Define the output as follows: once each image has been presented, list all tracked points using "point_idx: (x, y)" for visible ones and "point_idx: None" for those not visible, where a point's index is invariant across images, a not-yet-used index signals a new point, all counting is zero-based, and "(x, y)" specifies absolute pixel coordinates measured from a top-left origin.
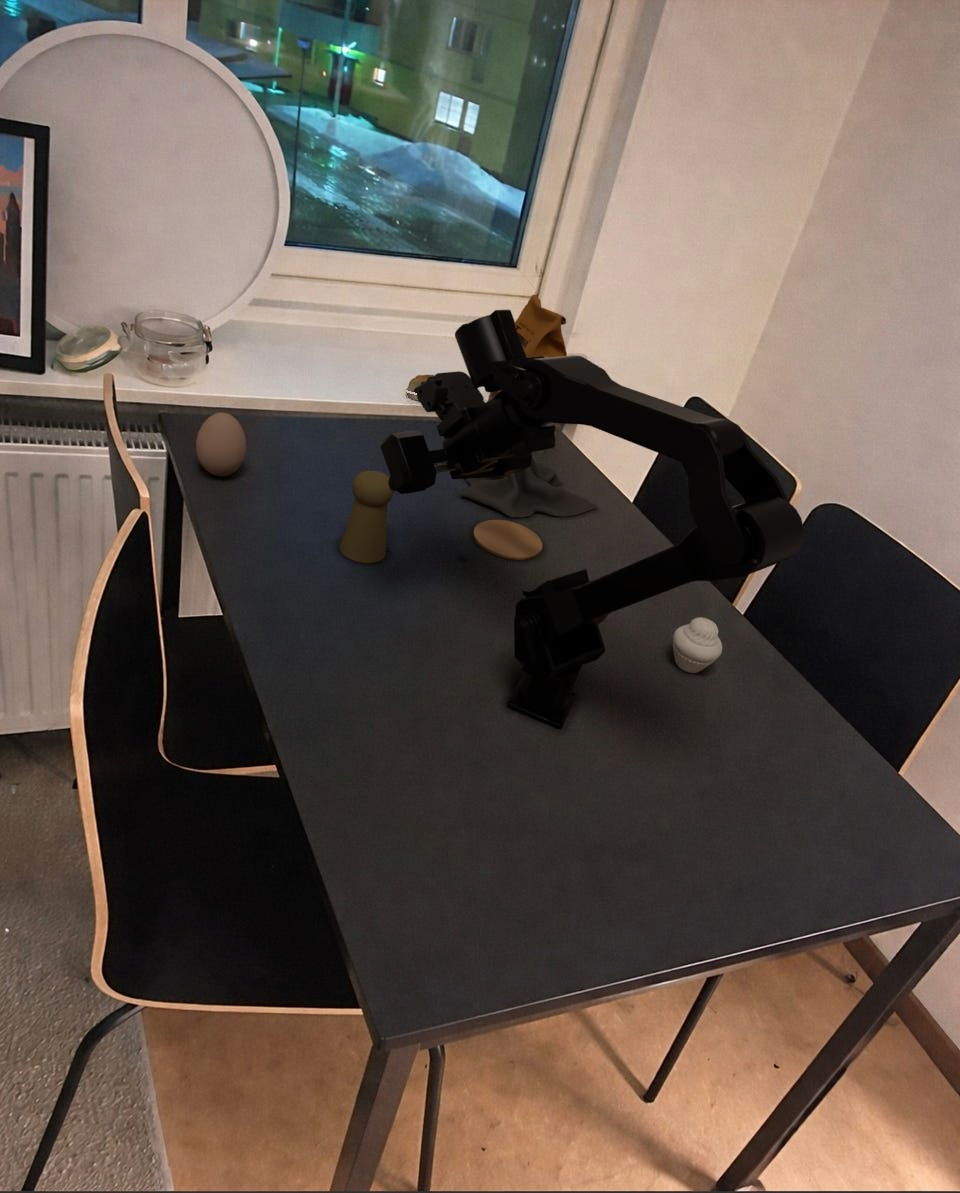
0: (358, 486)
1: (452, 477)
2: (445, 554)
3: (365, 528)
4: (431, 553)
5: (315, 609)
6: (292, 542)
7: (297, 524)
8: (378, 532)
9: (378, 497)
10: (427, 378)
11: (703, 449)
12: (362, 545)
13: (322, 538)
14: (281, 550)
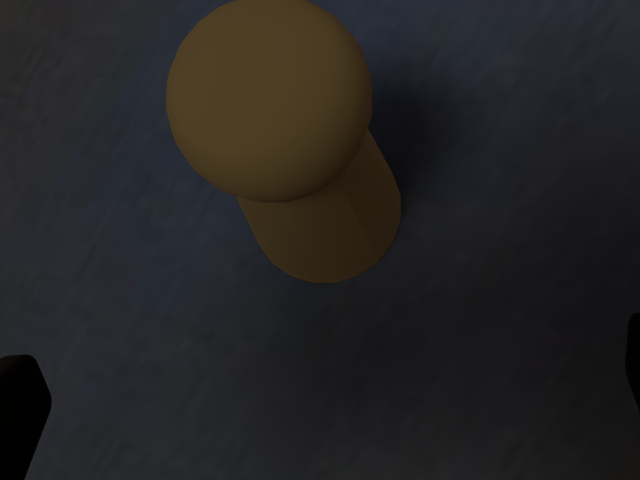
0: (165, 105)
1: (628, 372)
2: (616, 309)
3: (258, 222)
4: (562, 288)
5: None
6: (147, 122)
7: None
8: (311, 242)
9: (237, 190)
10: None
11: None
12: (269, 248)
13: None
14: (98, 152)
